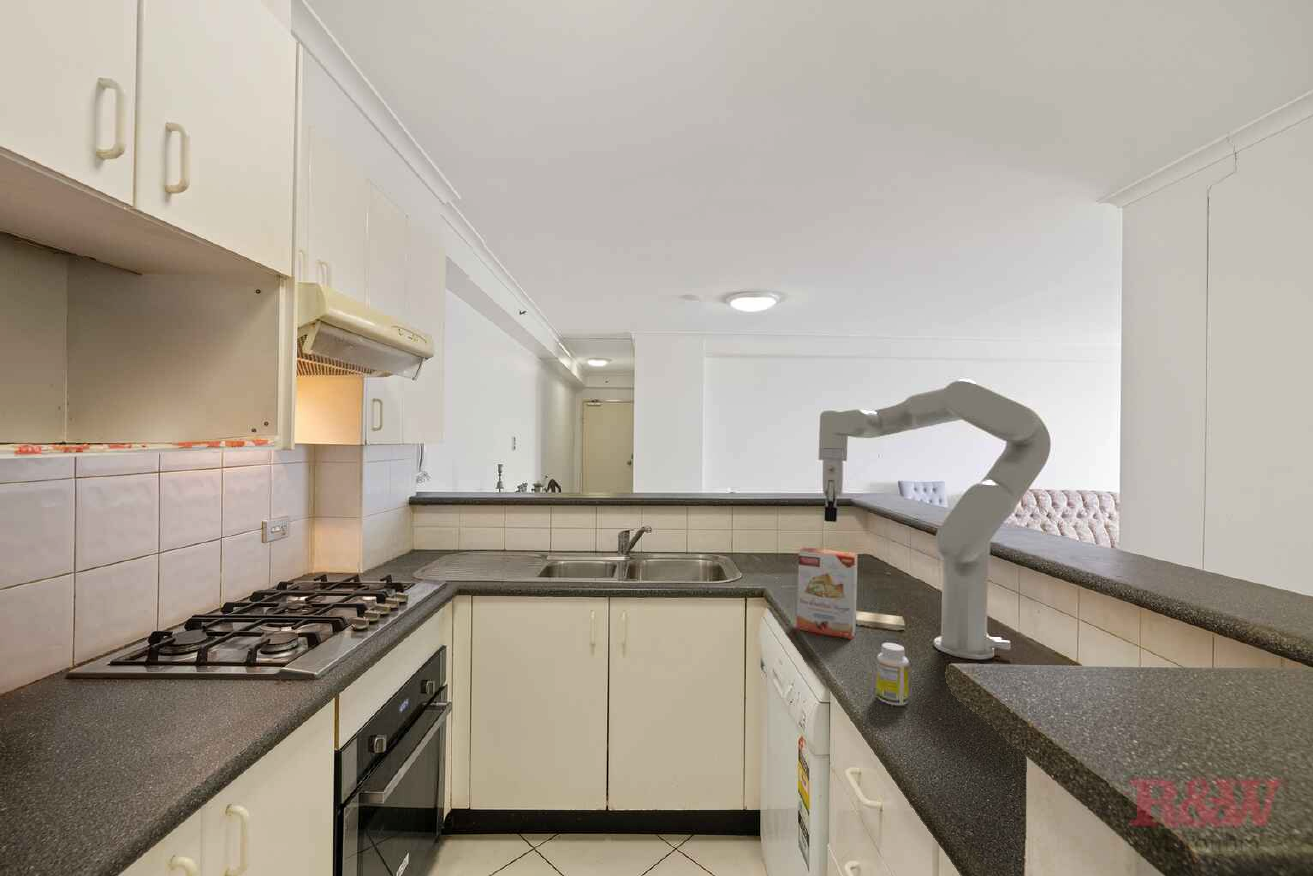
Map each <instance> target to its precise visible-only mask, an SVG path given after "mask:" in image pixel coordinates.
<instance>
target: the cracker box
mask: <svg viewBox="0 0 1313 876" xmlns="http://www.w3.org/2000/svg"><path fill="white" fill-rule="evenodd" d="M858 556H859V555H858V553H854V552H847V551H840V550H839V551H838V550H831V549H823V548H815V547H808V546H807V547H806V546H805V547H802V548H801V549H800V550H799V551H798V569H797V572H798V575H797V606H796V610H797V611H796V630H800V631H805V632H809V633H817V634H821V635H826V636H832V637H836V636H839V637H838V638H841V637H844V638H843V639H846V638H848V639H847V640H853V639H854V637H855V634H856V627H857V625H856V611H857V594H858V593H857V590H858V589H857V587H858V586H857V585H858Z"/></svg>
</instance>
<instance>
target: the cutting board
mask: <svg viewBox="0 0 1313 876" xmlns="http://www.w3.org/2000/svg"><path fill="white" fill-rule="evenodd" d="M856 624H857V625H856V626H860V625H865V626H864V627H867V626H869V628H875V627H876V628H878V629H884V630H894V631H899V630H904V631H903V632H906V623H905V621H904V617H903V616H899V615H891V614H884V613H874V612H866V611H860V610H859V611H858V610H856Z"/></svg>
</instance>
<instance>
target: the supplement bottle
mask: <svg viewBox="0 0 1313 876" xmlns="http://www.w3.org/2000/svg"><path fill="white" fill-rule="evenodd" d="M880 651H881V652H880V653H878V655H877V656H876V697H877V699H878V700H879V701H880V702H882V703H884V702H885V703H884V704H886V703H887V705H889V704H890V706H894V705H895V707H896V706H900V707H901V706H905V705H907V703H908V702H909V671H910V670H909V667H910V663H909V662H910V661H909V659H908V658H907V656H905V654H906V653H905V647H904V646H902V645H901V644H897V643H893V642H884V643H882V645H881V650H880Z"/></svg>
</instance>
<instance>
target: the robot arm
mask: <svg viewBox="0 0 1313 876" xmlns="http://www.w3.org/2000/svg"><path fill="white" fill-rule="evenodd" d="M819 415H820V416H819V435H818V436H819V438H818V439H819V441H818V461H822V492H823V493H822V494H823V496H824V497H825V505H824V518H823V519H824V521H825V522H830V523H836V522H837V520H838V519H837V517H838V507H837V498H838V497H839V498H842V496H843V481H844V462H847V461H848V443H849V442H848V438H849V437H851V438H859V439H873V438H880V437H884V436H889V435H893V434H894V435H895V434H898V433H903V432H907V431H913V430H915V431H916V430H918V429H922V428H926V427H933V426H935V425H941V424H946V423H951V422H957V421H964V422H966V423H967V424H969V425H972V426H974V427H975V428H978V429H980V430H982V431H984V432H985V433H987V434H990V435H991V436H993V437H995V438H997V439H999V440H1002V441H1004V442H1006V444H1005V447H1004V450H1003V452H1001V454H1000V456H998V458H997V459H996V461H994V463H993V466H992V467H991V468H990V469H989V470H988V472H987V473H986V475H985V476H984V477H983V478H982V480H981V481H979V482H977V483H975V484H973V485H971V486H970V487H969V488H968V489H966V491H965V492H964V493H963V494H962V496H961V497H960V499H959V500H958V501H957V503H955V506H954V507H953V509H952V510H951V511H950V513H949V514H948V516H947V517H946V518H945V520H944V521H943V522H942V524H940V526H939V528H938V530H937V532H936V533H935V539H934V541H935V547H936V549H937V552H938V553H939V554H940V555H941V556H942V558H943V562H942V563H943V564H942V581H941V582H942V585H941V586H942V587H941V621H940V622H941V624H940V625H941V626H940V627H941V629H940V631H941V632H940V634H941V635H940V636H937V637H935V638H934V639H933V646H934V647H935V648H936V649H937V650H939V651H941V652H943V653H945V654H948V655H951V656H954V657H958V658H961V659H962V658H963V659H969V660H990V659H992V658H994V656H995V648H996V649H997V648H998V649H1001V650H1009V651H1010V650H1011V647H1012V645H1011V641H1010V640H1004V639H1002V638H1001V637H995V636H994V637H992V636H990V635H989V633H988V632H987V631H988V596H989V595H988V593H989V592H988V591H989V568H990V567H989V566H990V555H991V540H992V538H993V537H994V536H995V535H996V533H997V532H998V531H999V530H1000V528H1001V527H1002V526H1003V524H1004V523H1005V522H1006V520H1007V519H1008V518H1009V517H1011V516H1012V514H1013V513H1014V512H1015V509H1016V507H1017V506H1018V504H1019V502H1020V501H1021V500H1022V498H1023V497H1024V496H1025V494H1026V493H1027V491H1029V489H1030V487H1031V486H1032V484H1033V483H1034V481H1035V480H1036V479H1037V477H1038V476H1039V474H1040V473H1041V472H1042V470H1043V468H1044V467H1045V466H1046V463H1047V461H1048V460H1049V456H1050V452H1051V448H1052V447H1051V445H1052V444H1051V436H1050V432H1049V430H1048V428H1047V426H1046V424H1045V422H1044V421H1043V420H1042V419H1041V417H1040V416H1039V415H1038V414H1037V413H1036V412H1035V411H1034V410H1033V409H1032V408H1029V407H1027V406H1025V405H1023V404H1021V403H1019V402H1017V401H1015V400H1013V399H1010V398H1008V397H1006V396H1003V395H1002V394H1000V393H997V392H995V391H993V390H991V389H988V388H987V387H985V386H983V385H981V384H979V383H978V382H975V381H973V380H971V379H957V380H954V381H953V382H951V383H949V384H947V386H946V387H943V388H939V389H934V390H930V391H926V392H925V391H924V392H921V393H917V394H913V395H911V396H909V397H906V399H905V400H904V401H903V402H901V403H898V404H895V405H891V406H888V407H884V408H880V409H879V408H878V409H874V410H866V409H852V410H823V411H822V412H820V414H819ZM837 496H838V497H837Z"/></svg>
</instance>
